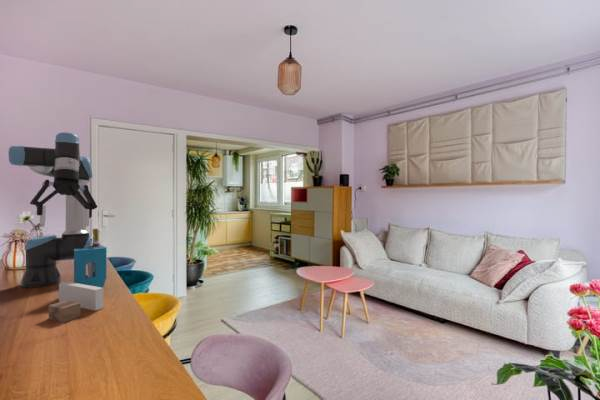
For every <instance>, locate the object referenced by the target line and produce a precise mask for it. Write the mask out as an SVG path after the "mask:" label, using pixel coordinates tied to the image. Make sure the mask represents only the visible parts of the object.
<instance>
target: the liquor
mask: <svg viewBox="0 0 600 400" xmlns="http://www.w3.org/2000/svg"><path fill="white" fill-rule="evenodd" d="M92 236H93V238H92V245H91V246H90V247H88V248H94V247H105V246H103V244H102V245H101V243H100V241H101V240H100V228H92ZM87 273H88V274H87V275H88V277H93V275H94V274H95V263H93V262H92V261H90V262H89V263H88V264H87Z"/></svg>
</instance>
